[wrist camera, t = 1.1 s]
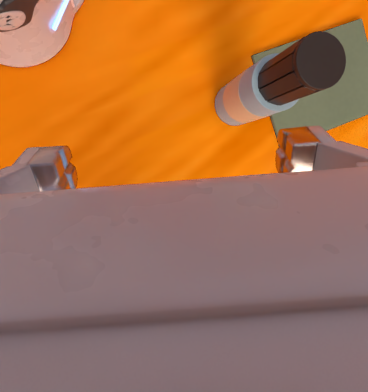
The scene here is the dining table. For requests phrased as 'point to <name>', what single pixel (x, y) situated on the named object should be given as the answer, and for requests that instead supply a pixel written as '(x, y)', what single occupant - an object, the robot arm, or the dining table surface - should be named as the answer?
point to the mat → (336, 95)
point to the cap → (303, 69)
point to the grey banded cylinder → (246, 98)
